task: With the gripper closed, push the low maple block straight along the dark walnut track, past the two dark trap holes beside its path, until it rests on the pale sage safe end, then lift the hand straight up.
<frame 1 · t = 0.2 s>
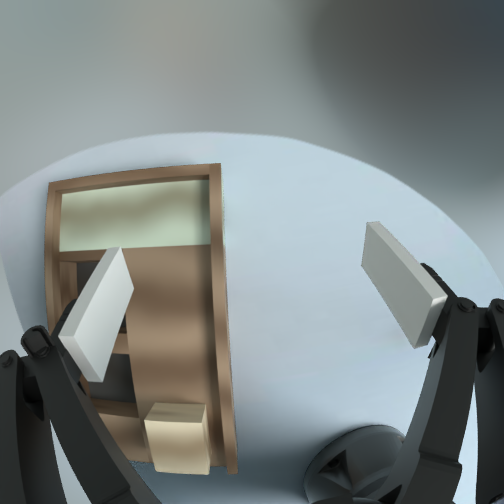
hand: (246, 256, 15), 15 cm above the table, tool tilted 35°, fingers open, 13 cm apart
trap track: (144, 326, 29), on the table
block: (183, 429, 25), point 4 cm above the table, touching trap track
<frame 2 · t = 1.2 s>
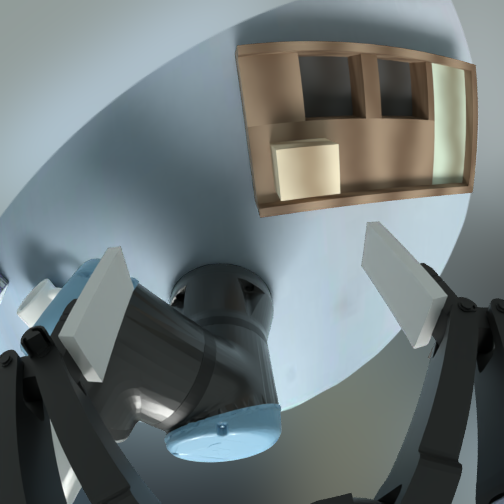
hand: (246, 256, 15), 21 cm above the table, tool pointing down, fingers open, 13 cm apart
mug: (67, 297, 41), on the table
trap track: (366, 119, 32), on the table
block: (299, 163, 30), point 4 cm above the table, touching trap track
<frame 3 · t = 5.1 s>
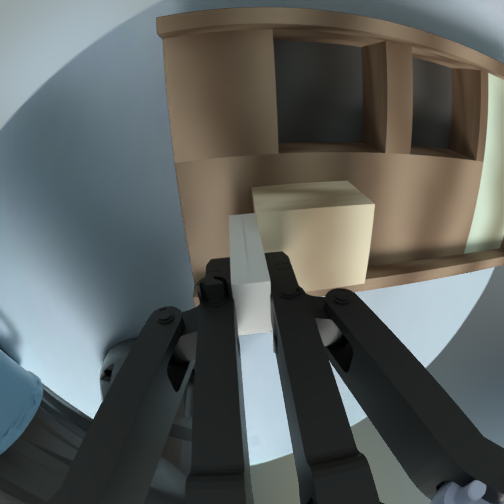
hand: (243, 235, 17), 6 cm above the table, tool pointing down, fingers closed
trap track: (382, 149, 21), on the table
block: (301, 220, 19), point 4 cm above the table, touching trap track
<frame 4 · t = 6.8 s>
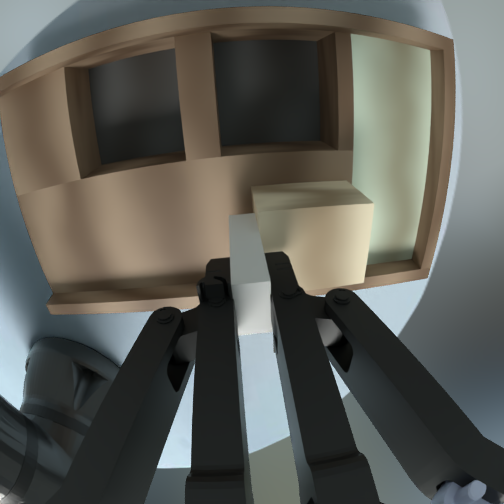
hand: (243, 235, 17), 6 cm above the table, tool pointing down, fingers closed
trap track: (222, 152, 20), on the table
block: (300, 220, 19), point 4 cm above the table, touching gripper
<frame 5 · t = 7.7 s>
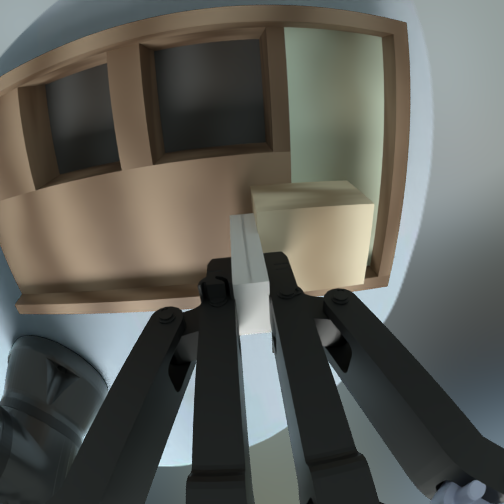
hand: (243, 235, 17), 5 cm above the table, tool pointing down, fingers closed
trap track: (167, 158, 20), on the table
block: (300, 220, 19), point 4 cm above the table, touching gripper, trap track
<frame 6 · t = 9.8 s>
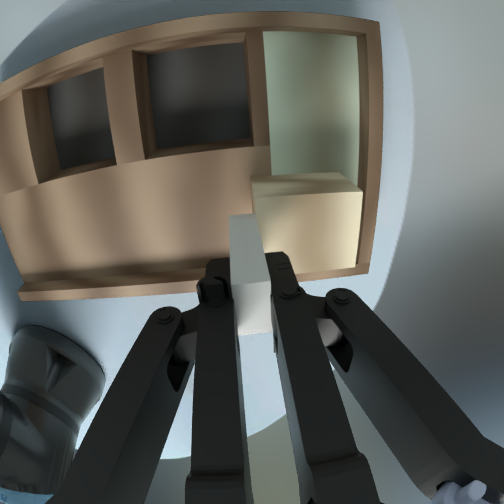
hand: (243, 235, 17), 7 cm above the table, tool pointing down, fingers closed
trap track: (159, 154, 21), on the table
block: (296, 209, 20), point 4 cm above the table, touching gripper, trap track
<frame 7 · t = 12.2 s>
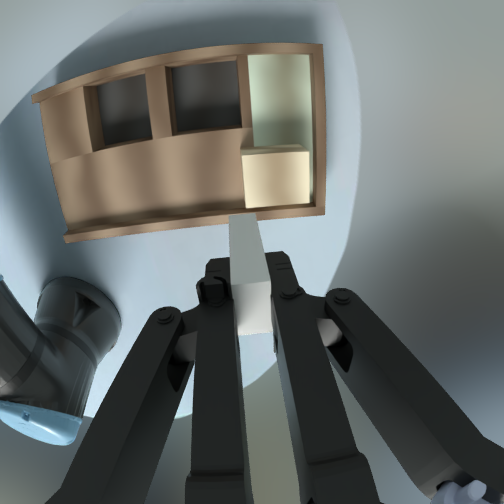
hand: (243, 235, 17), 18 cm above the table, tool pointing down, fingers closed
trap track: (178, 135, 31), on the table
block: (271, 169, 30), point 4 cm above the table, touching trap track
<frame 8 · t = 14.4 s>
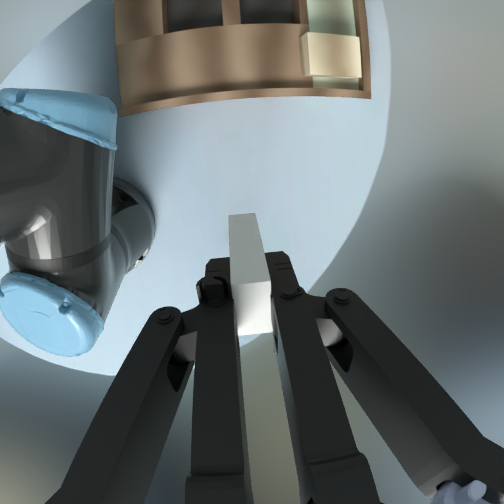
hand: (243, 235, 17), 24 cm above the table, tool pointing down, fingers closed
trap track: (239, 34, 30), on the table
block: (324, 57, 29), point 4 cm above the table, touching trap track
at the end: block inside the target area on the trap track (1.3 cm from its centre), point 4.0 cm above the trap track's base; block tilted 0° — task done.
